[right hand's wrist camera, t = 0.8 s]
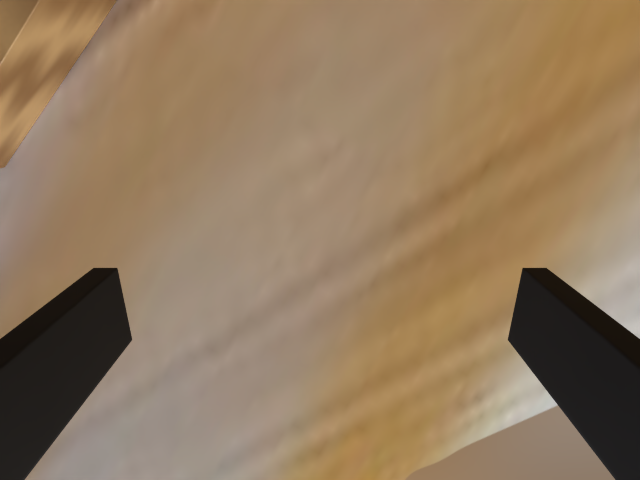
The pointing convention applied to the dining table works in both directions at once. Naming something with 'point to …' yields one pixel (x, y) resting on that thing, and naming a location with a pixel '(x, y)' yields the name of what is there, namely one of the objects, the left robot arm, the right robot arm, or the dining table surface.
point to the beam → (39, 57)
